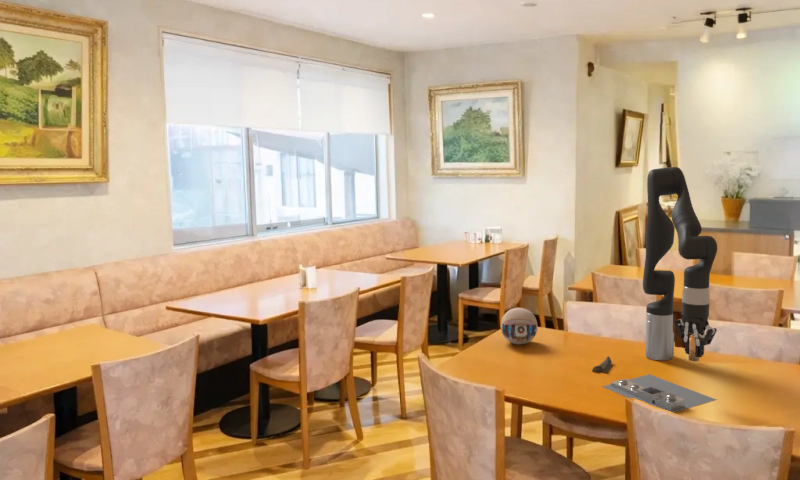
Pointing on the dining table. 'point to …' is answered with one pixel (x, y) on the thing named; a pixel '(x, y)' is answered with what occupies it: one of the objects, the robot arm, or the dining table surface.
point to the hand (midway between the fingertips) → (693, 354)
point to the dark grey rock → (603, 366)
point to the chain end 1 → (631, 388)
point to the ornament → (519, 326)
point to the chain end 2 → (662, 398)
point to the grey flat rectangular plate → (682, 392)
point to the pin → (692, 348)
